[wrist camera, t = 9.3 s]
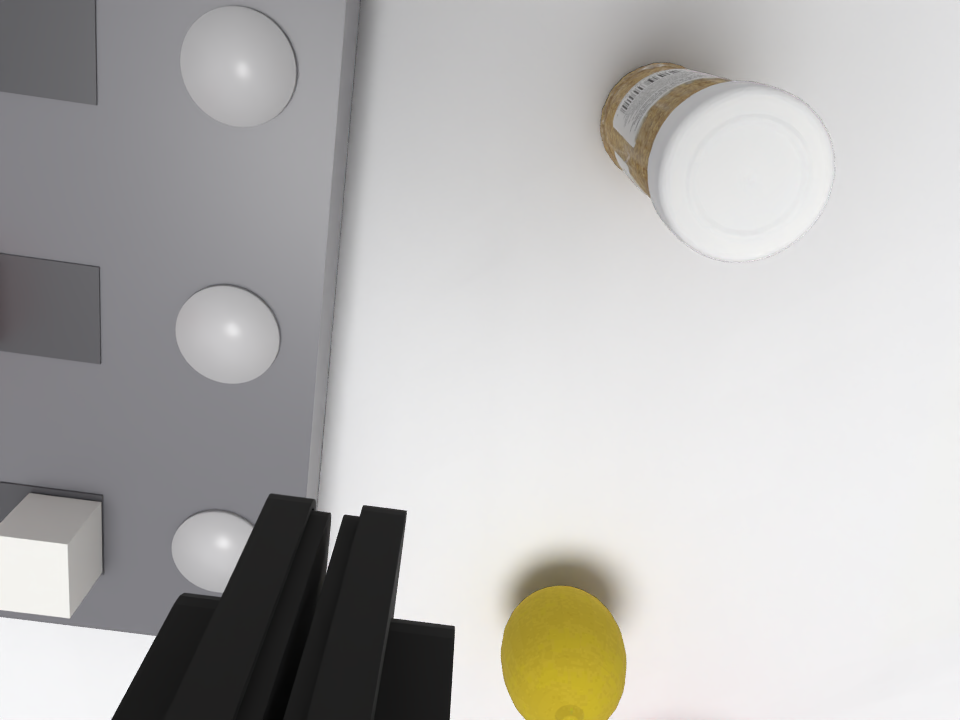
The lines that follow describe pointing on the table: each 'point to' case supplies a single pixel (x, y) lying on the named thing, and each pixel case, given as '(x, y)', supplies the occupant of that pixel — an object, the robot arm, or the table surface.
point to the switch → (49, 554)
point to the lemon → (563, 656)
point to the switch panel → (168, 274)
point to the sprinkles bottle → (720, 158)
